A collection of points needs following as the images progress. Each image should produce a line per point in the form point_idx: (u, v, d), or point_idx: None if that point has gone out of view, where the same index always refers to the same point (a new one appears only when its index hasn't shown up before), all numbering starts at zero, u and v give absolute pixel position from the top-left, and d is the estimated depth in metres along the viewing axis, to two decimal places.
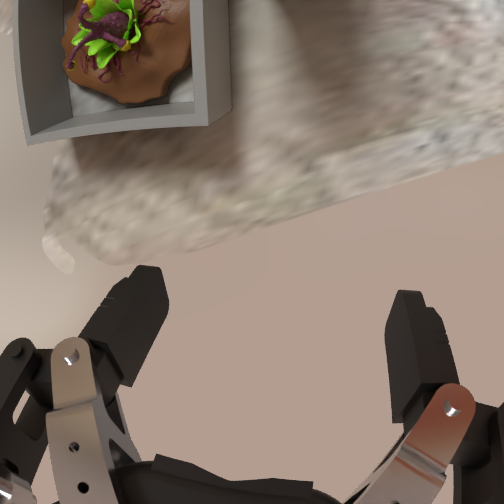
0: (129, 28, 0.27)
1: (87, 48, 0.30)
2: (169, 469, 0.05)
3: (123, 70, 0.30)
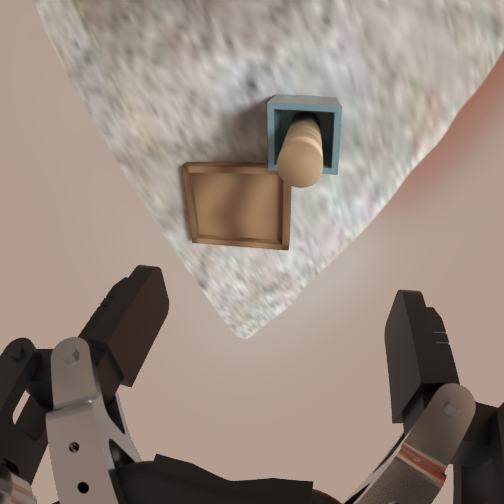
0: None
1: None
2: (169, 469, 0.05)
3: None
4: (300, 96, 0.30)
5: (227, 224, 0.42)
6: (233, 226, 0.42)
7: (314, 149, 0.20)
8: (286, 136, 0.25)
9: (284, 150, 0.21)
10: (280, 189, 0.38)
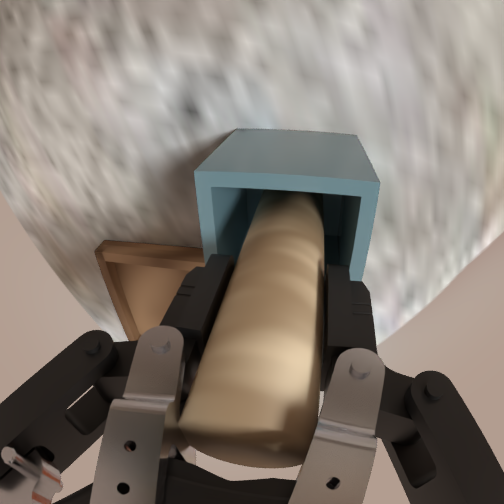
0: None
1: None
2: (169, 469, 0.05)
3: None
4: (284, 134, 0.16)
5: None
6: None
7: (290, 430, 0.05)
8: (231, 279, 0.10)
9: (191, 420, 0.06)
10: None
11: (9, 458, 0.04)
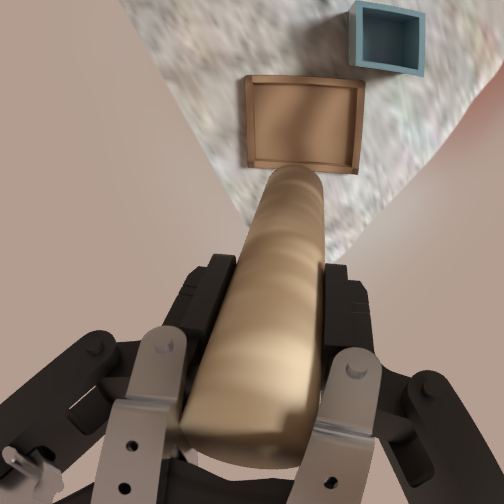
0: None
1: None
2: (169, 469, 0.05)
3: None
4: None
5: (290, 145, 0.36)
6: (296, 147, 0.36)
7: (290, 431, 0.05)
8: (232, 280, 0.10)
9: (191, 421, 0.06)
10: (351, 106, 0.32)
11: (10, 458, 0.04)
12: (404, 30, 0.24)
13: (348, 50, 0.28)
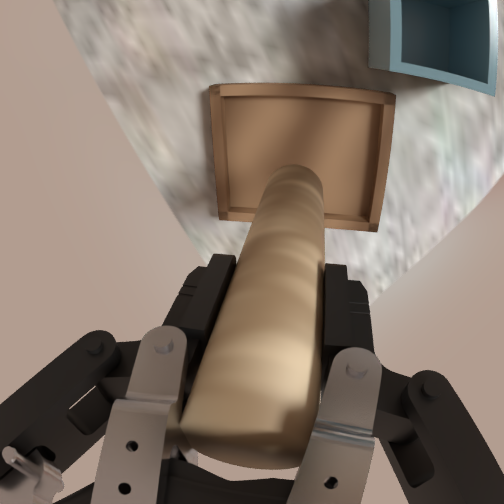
0: None
1: None
2: (169, 469, 0.05)
3: None
4: None
5: None
6: None
7: (290, 431, 0.05)
8: (232, 280, 0.10)
9: (191, 422, 0.06)
10: (372, 131, 0.21)
11: (10, 458, 0.04)
12: (454, 18, 0.13)
13: (369, 44, 0.17)
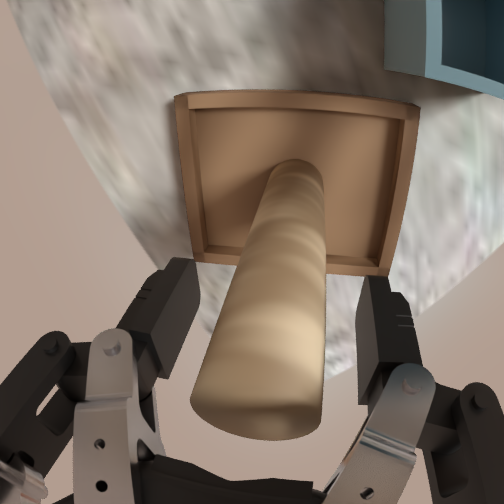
0: None
1: None
2: (169, 469, 0.05)
3: None
4: None
5: None
6: None
7: (298, 392, 0.06)
8: (239, 262, 0.11)
9: (205, 386, 0.07)
10: (387, 153, 0.16)
11: None
12: (492, 11, 0.09)
13: (386, 39, 0.13)
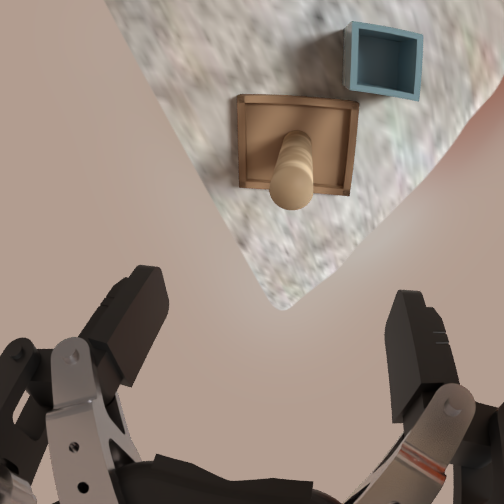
0: None
1: None
2: (169, 469, 0.05)
3: None
4: None
5: None
6: None
7: (305, 174, 0.22)
8: (278, 158, 0.27)
9: (277, 175, 0.22)
10: (344, 127, 0.32)
11: None
12: (401, 50, 0.25)
13: (343, 70, 0.29)
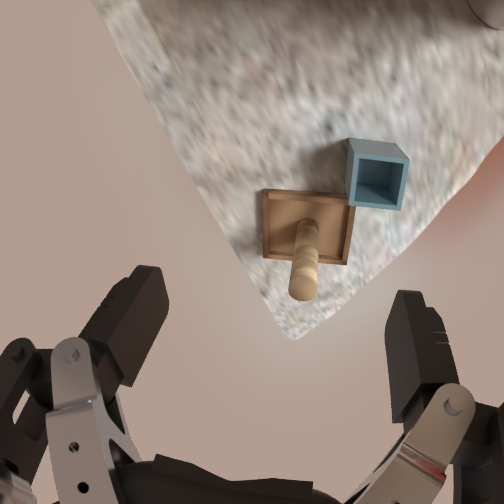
0: None
1: None
2: (169, 469, 0.05)
3: None
4: (369, 141, 0.37)
5: None
6: None
7: (312, 282, 0.35)
8: (294, 257, 0.39)
9: (293, 282, 0.35)
10: (344, 215, 0.44)
11: None
12: None
13: (345, 172, 0.41)
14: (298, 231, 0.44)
